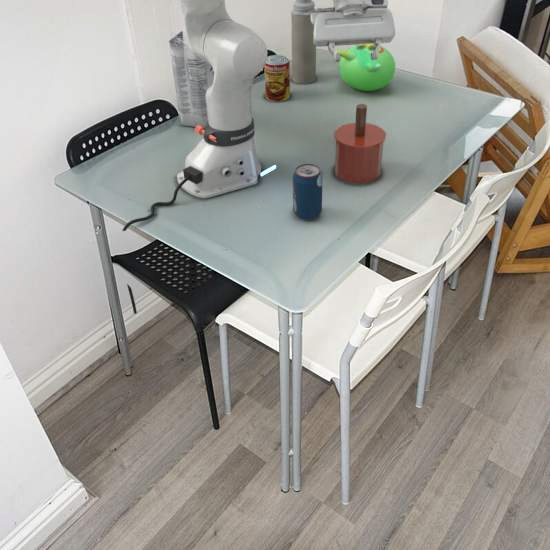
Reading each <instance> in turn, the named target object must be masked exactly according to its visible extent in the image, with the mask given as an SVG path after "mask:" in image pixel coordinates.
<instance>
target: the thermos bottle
mask: <svg viewBox="0 0 550 550" xmlns="http://www.w3.org/2000/svg"><path fill="white" fill-rule="evenodd" d="M292 5H293V6H292V9H291V11H290V14H291V15H290V16H291V20H290V21H291V79H292V82H294V83H296V84H299V85H300V84H301V85H308V84H311V83H314V82H315V81H316V79H317V46H316V45H315V44H314V42H313V32H314V26H313V25H312V23H311V13H312V12H313V11H315V10H316V9H317V8H315V6H316V4H315V2H314V1H313V0H295V1H294V2H293V3H292ZM315 13H316V12H315Z"/></svg>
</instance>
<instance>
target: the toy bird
mask: <svg viewBox="0 0 550 550" xmlns="http://www.w3.org/2000/svg"><path fill="white" fill-rule="evenodd" d="M376 48H377V47H375V46H374V44H357V45H351V46H350V47H348V48H347V49H346V50H345V49H335V51H336V52H337V53H340V62H338V72H339V76H340V77H341V79H342V80H343V82H344V83H345V84H346V85H348V86H349V87H351V88H353V89H355V90H358V91H362V92H371V91H377V90H380V89H382V88H384V87H386V86H387V85H389V83H390V82H391V81H392V79H393V77H394V76H395V73H396V61H395V59H394V56H393V54H392V53H391V51H389V50H388V49H387V48H385V47H384V46H382V45H381V46H380V48H379V50H378V59H377V60H371V53H372V51H375V50H376Z"/></svg>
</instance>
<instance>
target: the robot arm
mask: <svg viewBox="0 0 550 550" xmlns="http://www.w3.org/2000/svg"><path fill="white" fill-rule="evenodd" d="M177 1H178V4H179V6H180V9H181V13H182V17H183V22H184V24H183V28H182V31H183V39H184V42H185V44H186V46H187V47H188V48H189V49H190V51H191V52H192V53H193V54H194V55H195V56H196V57H198V58H199V59H201V60H203V61H205V62H207V63H208V64H210V65H211V66H212V68H213V71H214V79H213V84H212V85H211V86H210V87H209V88H208V89H207V91H206V105H207V114H208V121H207V124H206V128H203V127H202V126H200V125H198V126H196V127H194V132H195V133H196V134H198V135H199V136H203V138H202V139H201V140H200V141H199V142H198V143H197V145H196V146H195V147H194V148H193V149H192V150H191V151H190V153H188V154H187V156H186V157H185V160H184V168H183V169H182V171H180V172H179V173H177V176H176V181H177V184H178V185H177V187H175V189H174V192H173V197H172V199H171V200H170V201H167V202H166V201H165V202H164V201H163V202H162V201H158V202H157V201H156V202H154V203H153V204H152V205H151V206H150V211H151V213H150V214H149V215H147V216H144V217H138V218H135V219H132V220H130V221H128V222H127V223H126V224H125V225H124V226H123V228H122V229H121V231H122V232H125V231H127V230H128V228H129V227H131V225H133V224H135V223H141V222H144V221H145V222H146V221H148V220H151V219H152V218H153V217H154V216H155V213H156V212H155V211H156V210H155V207H158V206H166V207H168V206H171V205H172V204H174V203H175V202H176V200H177V196H178V193H179V190H180V189H181V188H182V189H183V190H184V191H185V192H187V193H188V194H189V195H191V196H193V197H196V198H200V199H210V198H212V197H213V198H214V197H216V196H219V195H220V196H221V195H224V194H227V193H230V192H234V191H238V190H241V189H244V188H247V187H252V186H255V185H256V184H258V177H259V175H260V177H263V176H265V175H267V174H268V173H270V172H272V171H274V170H275V169H276V168H277V165H276V164H274V165H272V166H271V167H269V168H267V169H265V170H263V171H262V165H261V163H260V161H259V158H258V154H257V150H256V144H255V138H254V137H255V131H256V130H255V120H254V118H253V111H252V90H253V89H252V88H253V84H254V81H255V78H256V76H258V75H259V74H260V73H261V72H262V71H263V69H264V66H265V63H266V60H267V57H268V48H267V44H266V43H265V41H264V39H262V37H260V35H259V34H257V33H256V32H255V31H254V30H253V29H251V28H250V27H248V26H245V25H243V24H241V23H239V22H236V21H235V20H234V19H232V18H231V16H230V15H229V13H228V11H227V8H226V0H177ZM332 5H333V7H325V8H323V7H319V8H318V7H317V8H315V9H316V10H315V11H313V12H312V13H311V23H312V25H313V26H314V32H313V42H314V44H315V45H316V48H317V47H318V48H319V47H320V48H322V47H327V50H328V52H329V53H330V54H331V56H332V57H333V59H332V60H333V63H339V62H340V59H341V56H340V53H337V52H336V49H335V47H337V46H338V47H339V46H354V45H357V44H374V46H375V47H377V48H376V50H375V51H372V53H371V60H377V59H378V50H379V48H380V46H382V44H390V43H391V42H392V41H393V40H394V38H395V36H396V27H395V21H394V16H393V13H392V11H391V10H390V9H389V8H388V5H389V1H388V0H332ZM315 12H316V13H315ZM261 171H262V172H261ZM126 286H127V290H128V293H129V297H130V301H131V305H132V311H133V314H134V315H136V314H138V312H137V306H136V302H135V297H134V294H133V290H132V287H131V286H130V285H129V284H128V283H126Z"/></svg>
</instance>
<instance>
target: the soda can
mask: <svg viewBox="0 0 550 550" xmlns="http://www.w3.org/2000/svg"><path fill="white" fill-rule="evenodd" d="M323 177H324V176H323V174H322V171H321V168H320V167H319V166H318V165H316V164H313V163H301V164H300V165H298V166H296V168H295V169H294V172H293V174H292V212H293V214H294V215H295V216H296V217H297V218H298V219H300V220H302V221H312V220H315V219H317V218H318V217H319V216H320V214H321V213H322V212H323V186H324V185H323V183H324V182H323V181H324V180H323V179H324V178H323Z"/></svg>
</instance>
